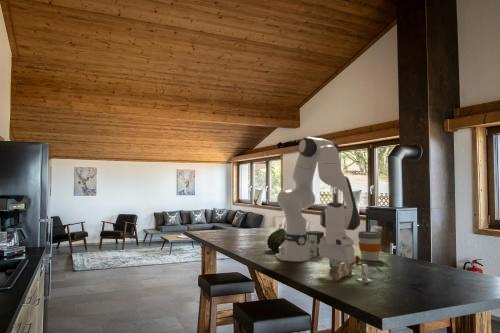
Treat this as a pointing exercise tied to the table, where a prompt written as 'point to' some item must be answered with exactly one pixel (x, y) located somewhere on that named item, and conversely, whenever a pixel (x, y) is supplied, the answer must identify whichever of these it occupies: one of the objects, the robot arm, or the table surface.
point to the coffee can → (314, 242)
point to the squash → (276, 239)
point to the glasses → (365, 260)
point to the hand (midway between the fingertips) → (335, 269)
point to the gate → (341, 270)
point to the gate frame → (364, 274)
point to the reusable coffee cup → (369, 245)
